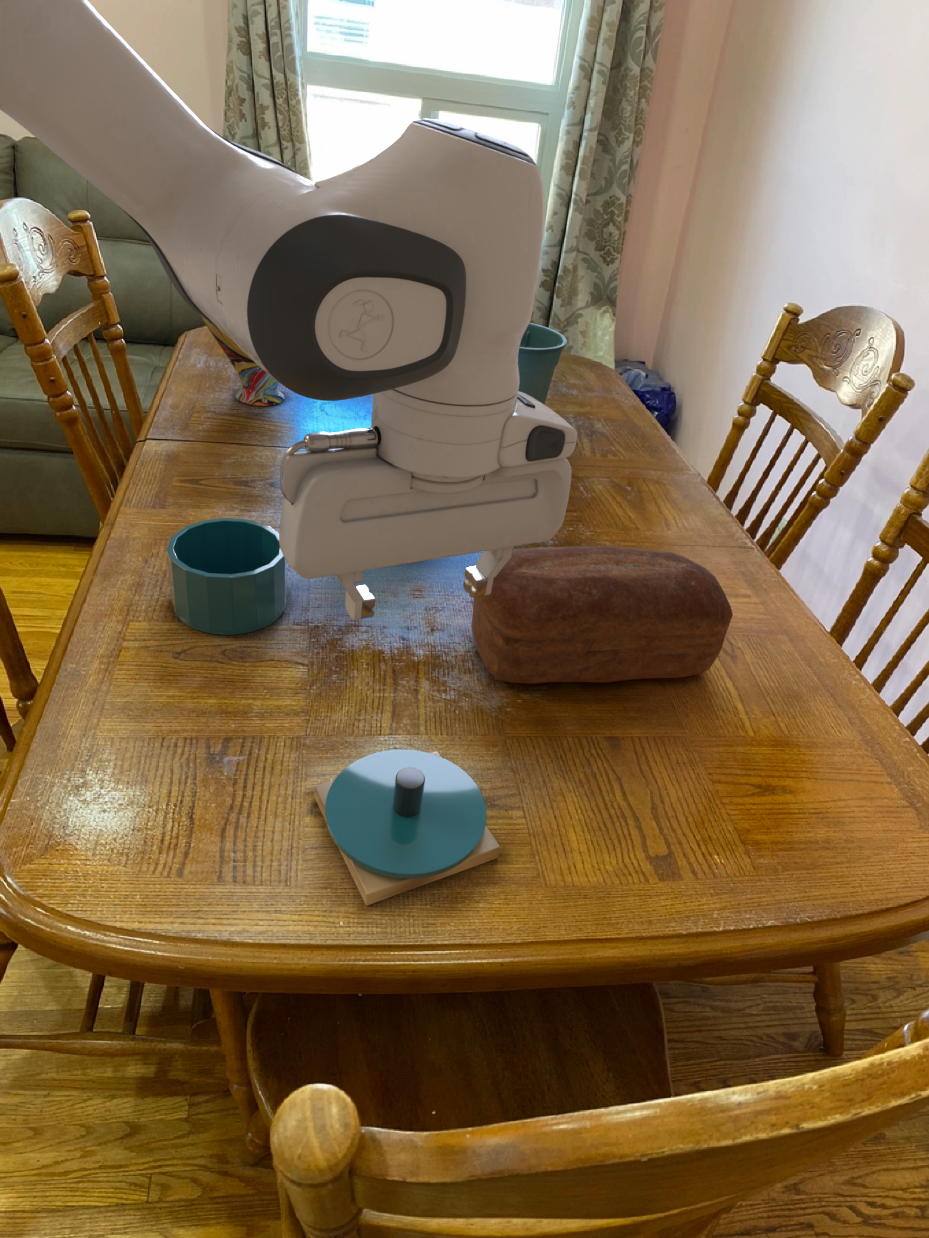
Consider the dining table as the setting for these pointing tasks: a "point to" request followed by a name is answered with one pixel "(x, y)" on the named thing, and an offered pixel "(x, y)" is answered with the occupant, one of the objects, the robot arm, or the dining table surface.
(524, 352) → the flower pot
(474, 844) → the pot lid
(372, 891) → the board
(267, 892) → the dining table surface
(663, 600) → the bread
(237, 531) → the pot
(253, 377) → the vase
